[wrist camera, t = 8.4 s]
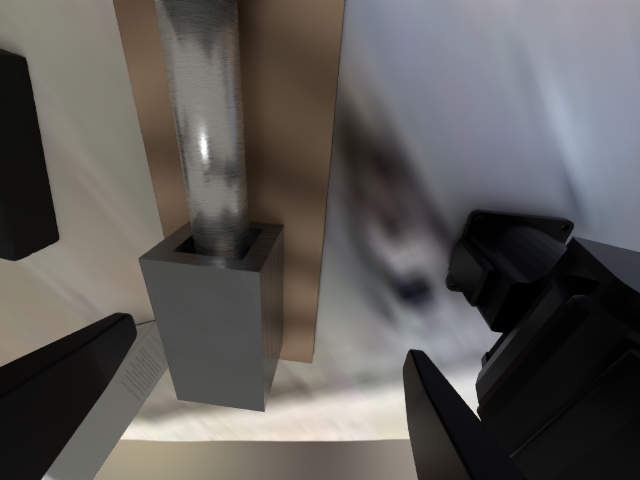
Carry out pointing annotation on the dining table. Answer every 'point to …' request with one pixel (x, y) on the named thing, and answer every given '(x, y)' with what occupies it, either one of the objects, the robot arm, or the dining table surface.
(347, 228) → the dining table surface
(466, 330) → the dining table surface
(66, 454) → the skincare box
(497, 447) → the robot arm
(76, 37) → the dining table surface
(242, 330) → the sleeve
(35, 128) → the coral
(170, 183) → the walnut board
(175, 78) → the steel tube
